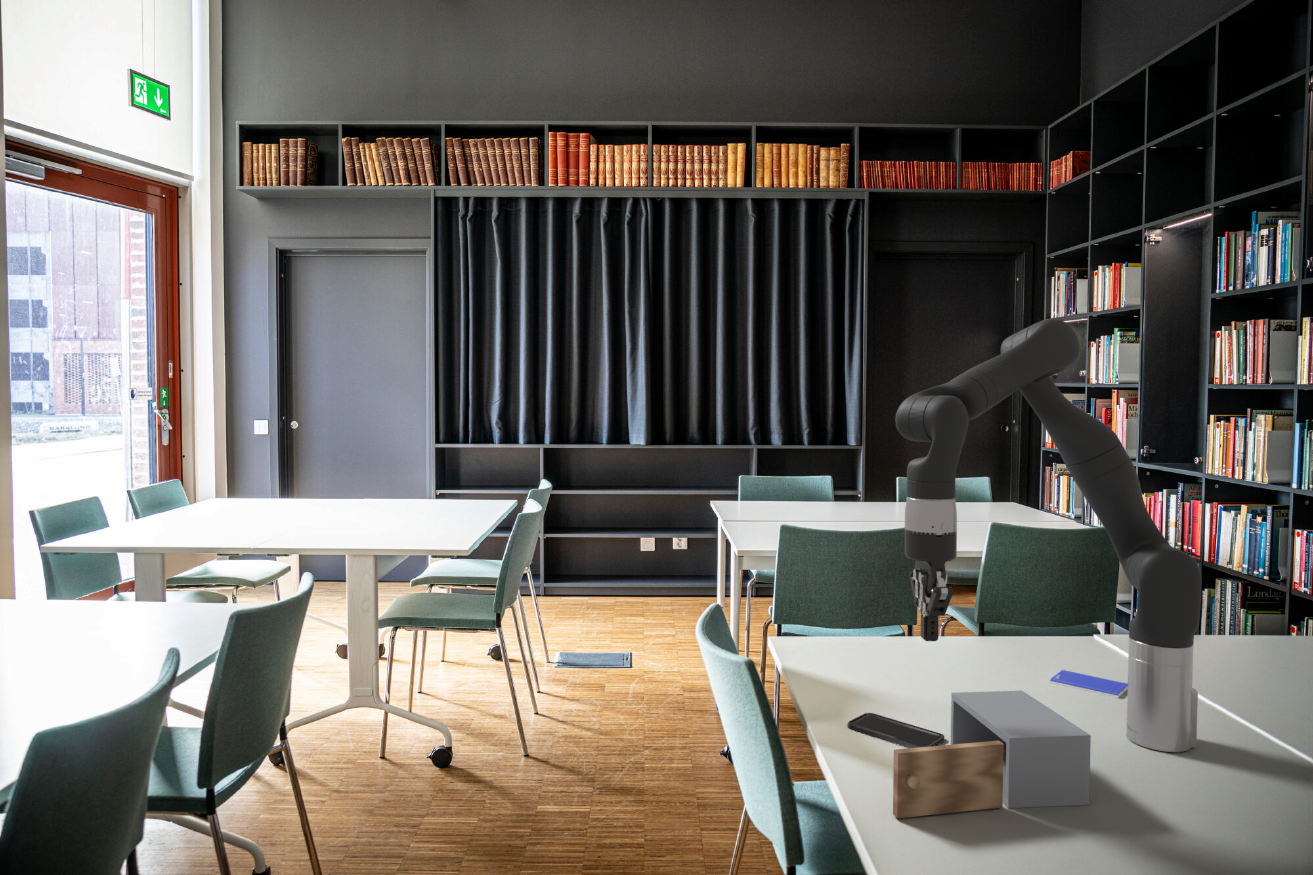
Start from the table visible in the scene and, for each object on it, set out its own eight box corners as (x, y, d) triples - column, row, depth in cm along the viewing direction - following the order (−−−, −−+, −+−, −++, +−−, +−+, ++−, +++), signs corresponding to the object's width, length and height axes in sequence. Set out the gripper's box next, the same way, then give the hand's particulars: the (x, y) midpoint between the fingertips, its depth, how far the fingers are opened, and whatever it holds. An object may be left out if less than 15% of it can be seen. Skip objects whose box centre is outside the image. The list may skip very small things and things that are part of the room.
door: (997, 803, 114) (998, 740, 114) (1006, 810, 112) (1008, 746, 112) (892, 813, 111) (893, 749, 111) (900, 821, 109) (901, 756, 109)
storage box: (1020, 750, 132) (1022, 690, 132) (1089, 804, 115) (1090, 735, 114) (950, 753, 131) (951, 692, 131) (1008, 808, 114) (1009, 738, 113)
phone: (867, 711, 147) (946, 735, 137) (867, 717, 147) (946, 741, 137) (844, 723, 142) (925, 749, 131) (844, 729, 142) (924, 755, 131)
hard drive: (1050, 678, 165) (1118, 693, 156) (1062, 669, 171) (1129, 682, 162) (1049, 685, 165) (1117, 701, 156) (1062, 676, 171) (1128, 690, 162)
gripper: (892, 521, 129) (892, 628, 130) (920, 534, 116) (919, 653, 117) (939, 520, 129) (938, 627, 130) (972, 533, 116) (971, 652, 117)
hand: (929, 639), depth 123 cm, fingers closed
